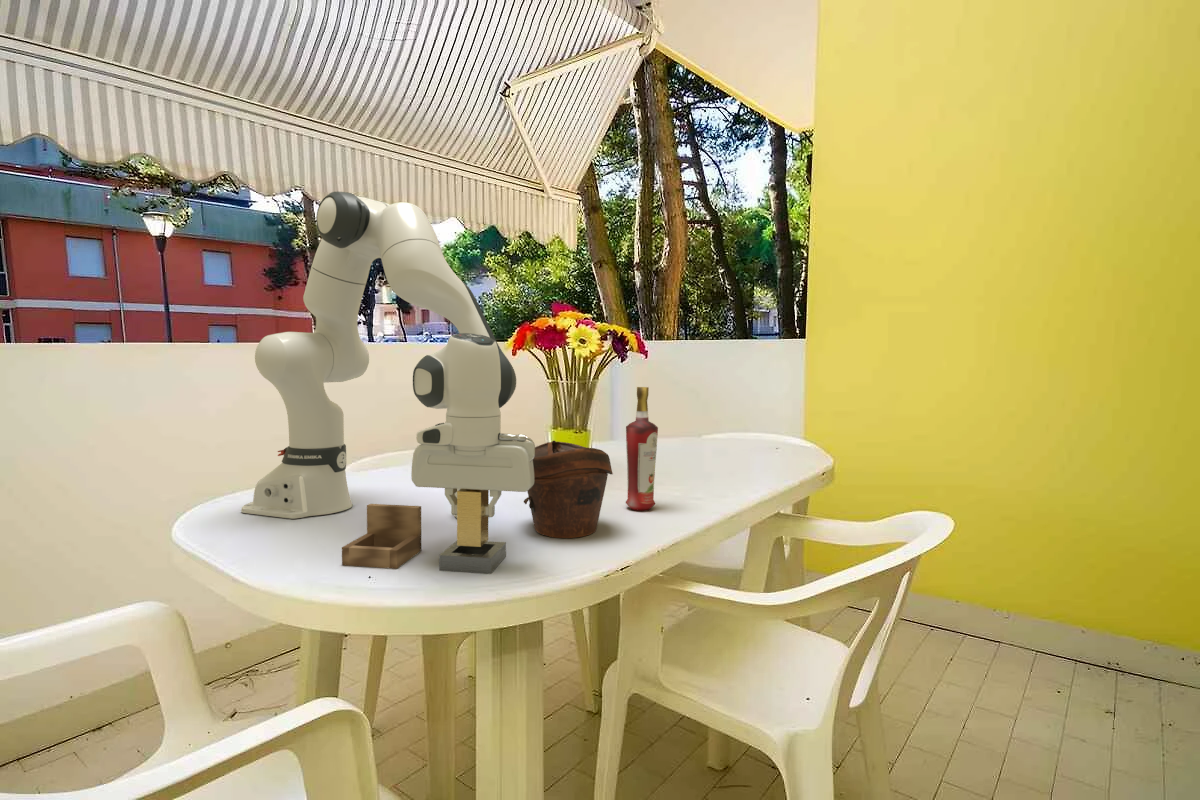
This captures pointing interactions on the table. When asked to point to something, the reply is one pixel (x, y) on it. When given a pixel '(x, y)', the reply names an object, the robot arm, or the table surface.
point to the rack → (386, 537)
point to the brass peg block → (472, 517)
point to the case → (567, 489)
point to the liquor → (641, 456)
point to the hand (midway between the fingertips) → (473, 515)
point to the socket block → (473, 557)
